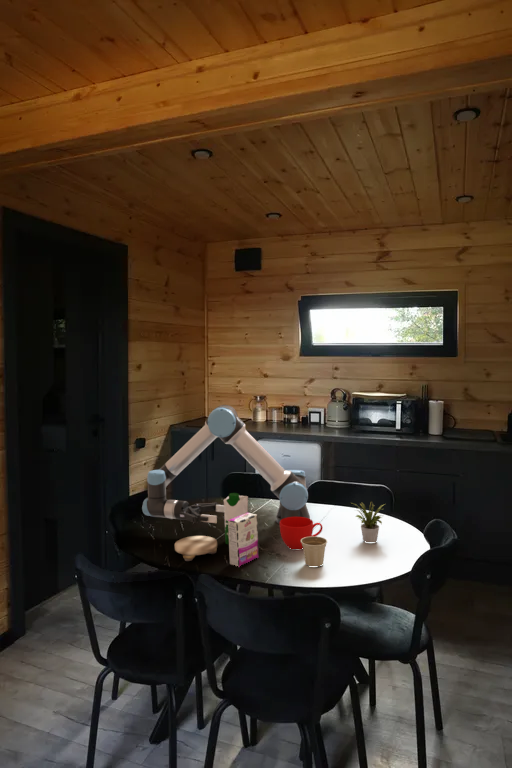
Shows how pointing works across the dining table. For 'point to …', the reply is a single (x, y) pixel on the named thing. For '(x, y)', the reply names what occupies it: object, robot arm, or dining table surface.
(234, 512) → the soya milk
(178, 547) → the stand
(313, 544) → the flower pot
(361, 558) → the dining table surface
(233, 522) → the candy bar box
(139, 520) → the dining table surface
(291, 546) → the ceramic cup
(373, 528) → the house plant
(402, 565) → the dining table surface
